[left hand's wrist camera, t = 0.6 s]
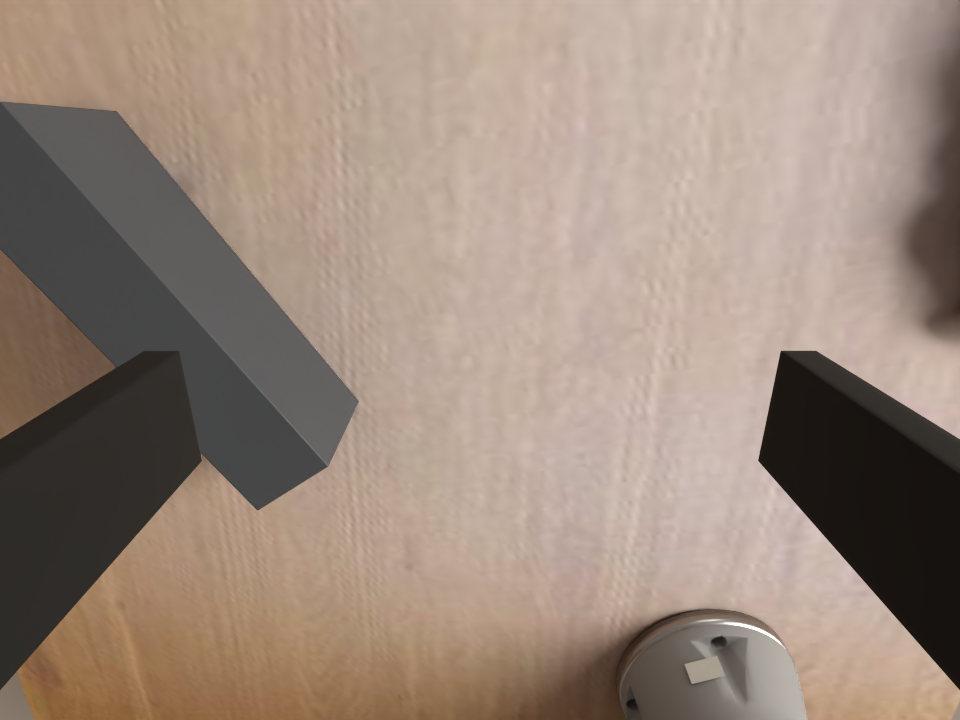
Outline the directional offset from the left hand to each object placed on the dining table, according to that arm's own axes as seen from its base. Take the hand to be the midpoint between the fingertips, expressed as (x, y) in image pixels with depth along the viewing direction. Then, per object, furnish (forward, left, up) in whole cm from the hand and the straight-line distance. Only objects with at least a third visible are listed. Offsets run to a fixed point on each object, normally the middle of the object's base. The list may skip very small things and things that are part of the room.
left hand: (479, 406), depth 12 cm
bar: (+7, -17, -26) cm, 31 cm away
